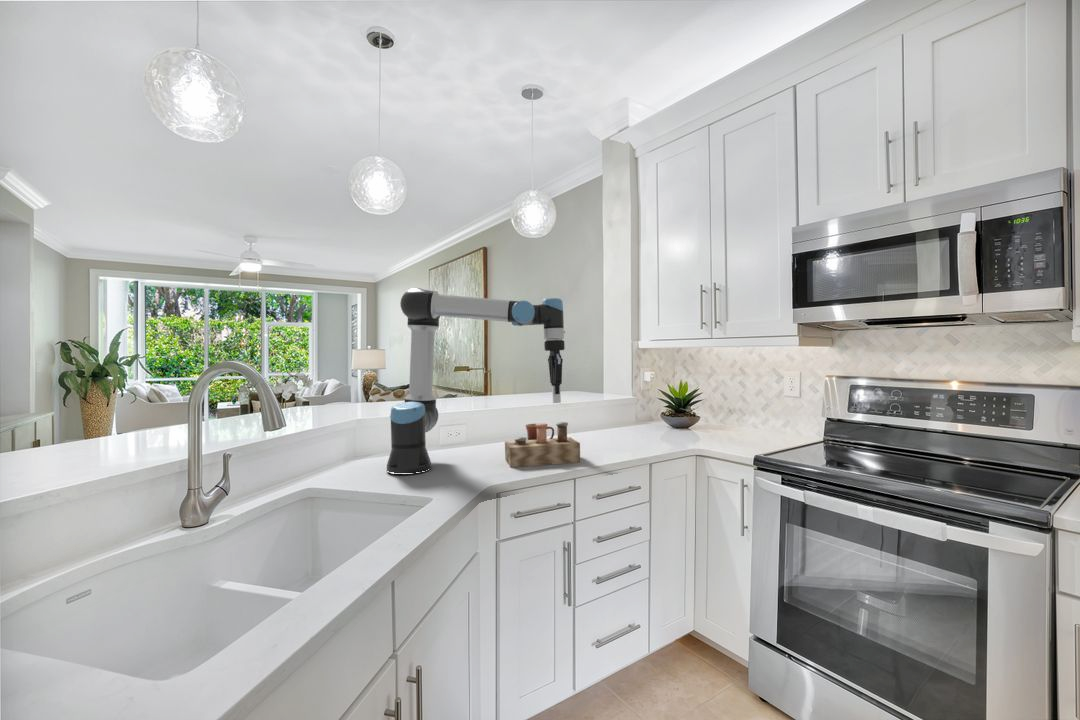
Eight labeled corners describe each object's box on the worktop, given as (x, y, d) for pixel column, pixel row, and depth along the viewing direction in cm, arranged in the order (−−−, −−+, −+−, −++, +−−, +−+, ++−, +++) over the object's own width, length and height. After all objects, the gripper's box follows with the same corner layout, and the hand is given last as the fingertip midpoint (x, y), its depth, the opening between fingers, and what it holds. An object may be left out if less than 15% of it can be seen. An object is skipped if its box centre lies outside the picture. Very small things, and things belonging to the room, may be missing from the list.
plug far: (558, 447, 174) (558, 424, 174) (555, 445, 179) (554, 422, 178) (569, 447, 175) (569, 423, 175) (566, 444, 180) (566, 421, 179)
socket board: (510, 467, 166) (510, 447, 166) (505, 459, 178) (504, 441, 178) (580, 462, 172) (579, 443, 172) (570, 455, 184) (570, 437, 184)
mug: (524, 451, 192) (524, 426, 192) (527, 447, 200) (526, 423, 200) (553, 451, 191) (553, 426, 190) (555, 447, 199) (554, 423, 199)
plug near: (516, 463, 171) (515, 439, 171) (514, 460, 175) (513, 437, 175) (528, 462, 172) (527, 438, 172) (525, 460, 176) (525, 436, 176)
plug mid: (537, 449, 172) (537, 425, 172) (534, 446, 177) (534, 423, 177) (549, 448, 173) (548, 424, 173) (546, 446, 178) (545, 423, 178)
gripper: (568, 339, 170) (571, 403, 170) (559, 340, 183) (561, 400, 183) (548, 339, 168) (551, 405, 169) (540, 340, 181) (543, 401, 181)
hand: (556, 402), depth 176 cm, fingers closed
